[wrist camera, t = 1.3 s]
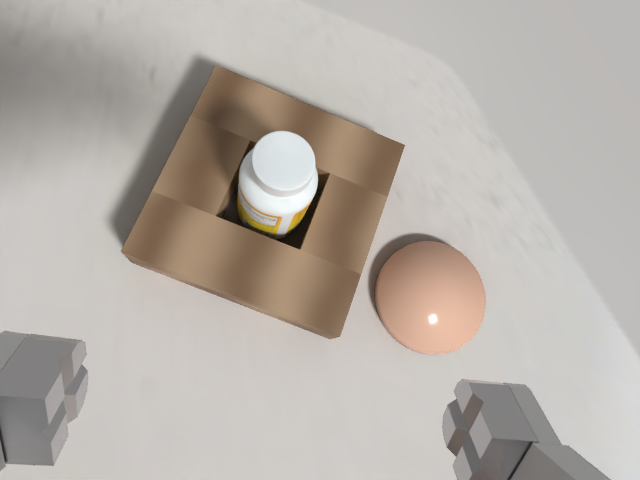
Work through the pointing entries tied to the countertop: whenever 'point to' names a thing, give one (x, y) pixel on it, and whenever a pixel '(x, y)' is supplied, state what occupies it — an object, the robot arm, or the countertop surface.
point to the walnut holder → (251, 247)
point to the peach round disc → (430, 297)
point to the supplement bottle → (276, 184)
